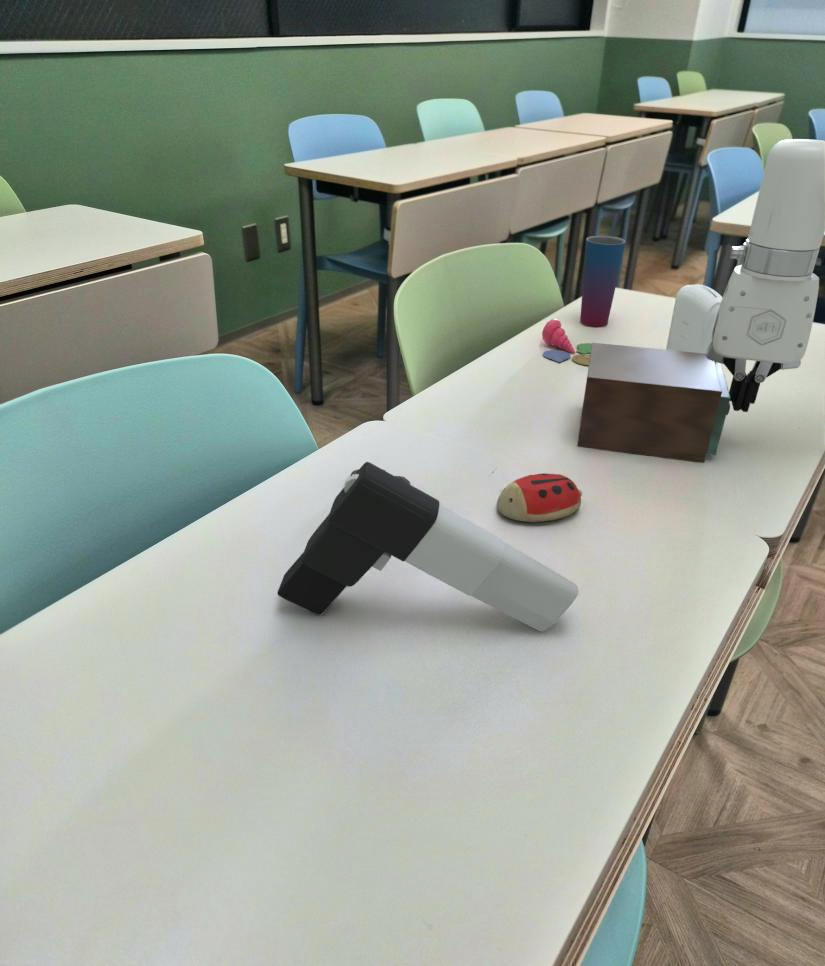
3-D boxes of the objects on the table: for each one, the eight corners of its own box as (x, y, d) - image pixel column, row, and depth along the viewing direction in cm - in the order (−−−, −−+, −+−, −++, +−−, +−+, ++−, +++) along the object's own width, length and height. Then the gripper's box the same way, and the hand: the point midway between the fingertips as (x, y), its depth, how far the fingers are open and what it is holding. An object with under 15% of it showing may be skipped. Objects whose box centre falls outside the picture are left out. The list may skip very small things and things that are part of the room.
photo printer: (661, 352, 123) (675, 279, 117) (684, 350, 124) (699, 277, 118) (693, 375, 115) (711, 297, 108) (718, 373, 116) (737, 296, 109)
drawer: (717, 417, 100) (730, 364, 96) (726, 456, 90) (741, 399, 86) (599, 404, 103) (608, 351, 99) (596, 440, 94) (605, 384, 90)
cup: (605, 331, 132) (618, 246, 125) (569, 324, 135) (580, 241, 128) (617, 321, 137) (630, 238, 129) (582, 314, 140) (594, 233, 133)
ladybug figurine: (486, 500, 83) (488, 473, 81) (563, 486, 85) (567, 460, 84) (511, 532, 77) (514, 504, 75) (593, 516, 80) (598, 489, 78)
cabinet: (697, 419, 101) (712, 354, 96) (704, 462, 91) (722, 391, 86) (582, 406, 104) (592, 342, 100) (577, 446, 94) (587, 376, 89)
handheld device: (285, 570, 68) (361, 451, 60) (485, 672, 72) (579, 571, 65) (274, 598, 64) (353, 475, 57) (485, 703, 68) (584, 600, 61)
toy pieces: (523, 354, 122) (526, 329, 119) (552, 336, 130) (555, 312, 127) (591, 371, 116) (595, 344, 114) (617, 350, 124) (621, 325, 122)
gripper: (712, 263, 81) (679, 412, 91) (859, 273, 78) (808, 427, 88) (706, 247, 88) (676, 388, 97) (842, 257, 85) (797, 402, 94)
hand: (739, 406), depth 92 cm, fingers closed
